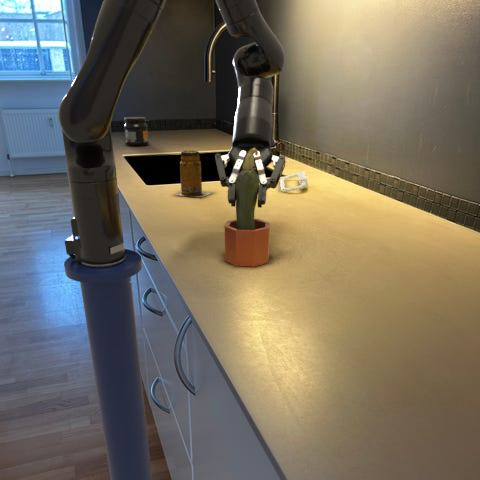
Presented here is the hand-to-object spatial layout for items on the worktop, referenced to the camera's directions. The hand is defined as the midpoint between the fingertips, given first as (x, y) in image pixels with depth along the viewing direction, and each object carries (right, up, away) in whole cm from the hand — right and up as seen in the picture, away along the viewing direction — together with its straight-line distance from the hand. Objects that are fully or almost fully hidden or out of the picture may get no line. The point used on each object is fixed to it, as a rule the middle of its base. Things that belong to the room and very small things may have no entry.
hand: (246, 204), depth 95 cm
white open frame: (+16, +20, +65) cm, 70 cm away
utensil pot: (0, -9, +7) cm, 11 cm away
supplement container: (-49, +60, +144) cm, 163 cm away
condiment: (-15, +15, +56) cm, 60 cm away
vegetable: (0, -8, +6) cm, 10 cm away
